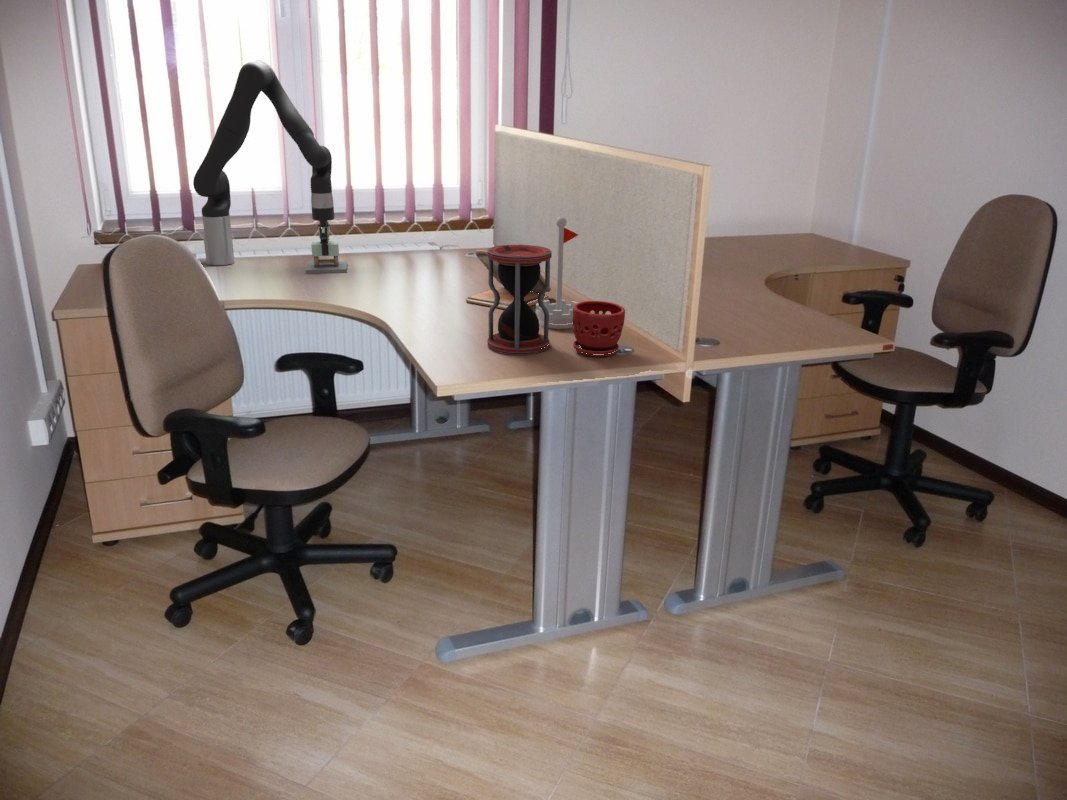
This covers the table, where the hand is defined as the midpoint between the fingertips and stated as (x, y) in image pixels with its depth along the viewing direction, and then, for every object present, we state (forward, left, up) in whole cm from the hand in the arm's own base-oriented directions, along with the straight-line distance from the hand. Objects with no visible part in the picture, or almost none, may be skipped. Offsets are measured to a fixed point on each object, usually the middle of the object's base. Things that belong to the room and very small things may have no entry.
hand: (325, 253), depth 304 cm
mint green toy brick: (0, 0, -4) cm, 4 cm away
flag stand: (+67, -81, -6) cm, 105 cm away
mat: (0, 0, -6) cm, 6 cm away
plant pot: (+71, -109, -6) cm, 130 cm away
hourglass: (+52, -101, -6) cm, 114 cm away
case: (+57, -53, -6) cm, 78 cm away
